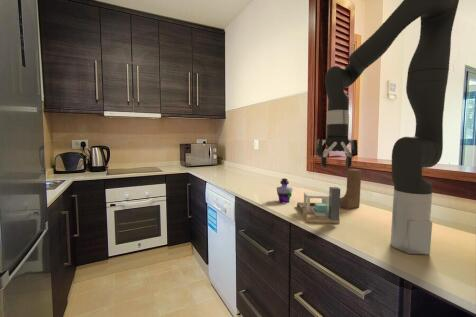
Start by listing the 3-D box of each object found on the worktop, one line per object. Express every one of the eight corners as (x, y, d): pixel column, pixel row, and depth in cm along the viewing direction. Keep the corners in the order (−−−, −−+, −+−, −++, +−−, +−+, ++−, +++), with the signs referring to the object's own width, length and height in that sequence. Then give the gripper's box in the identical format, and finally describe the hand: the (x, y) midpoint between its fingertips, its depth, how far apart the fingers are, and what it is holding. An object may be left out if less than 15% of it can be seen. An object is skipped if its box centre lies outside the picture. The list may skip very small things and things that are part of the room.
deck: (339, 223, 95) (339, 218, 95) (308, 222, 95) (308, 217, 95) (322, 207, 117) (322, 202, 117) (297, 206, 118) (297, 202, 118)
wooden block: (347, 209, 114) (349, 170, 112) (339, 207, 118) (340, 169, 116) (359, 207, 118) (361, 169, 116) (351, 204, 122) (353, 168, 120)
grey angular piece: (339, 220, 92) (340, 188, 91) (318, 220, 92) (319, 188, 91) (329, 212, 102) (331, 183, 101) (311, 211, 102) (312, 183, 101)
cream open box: (328, 211, 103) (329, 196, 103) (307, 211, 104) (307, 195, 103) (323, 206, 110) (324, 192, 110) (303, 206, 111) (304, 192, 110)
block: (327, 215, 98) (327, 205, 97) (316, 215, 98) (317, 205, 97) (324, 212, 102) (324, 203, 101) (314, 212, 102) (314, 202, 101)
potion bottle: (289, 204, 121) (289, 180, 120) (272, 202, 126) (273, 178, 125) (294, 200, 129) (295, 178, 128) (279, 198, 133) (279, 176, 132)
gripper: (320, 122, 87) (319, 168, 88) (362, 122, 86) (360, 168, 87) (315, 124, 94) (313, 166, 95) (353, 124, 94) (351, 166, 95)
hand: (335, 167), depth 91 cm, fingers open, 8 cm apart
